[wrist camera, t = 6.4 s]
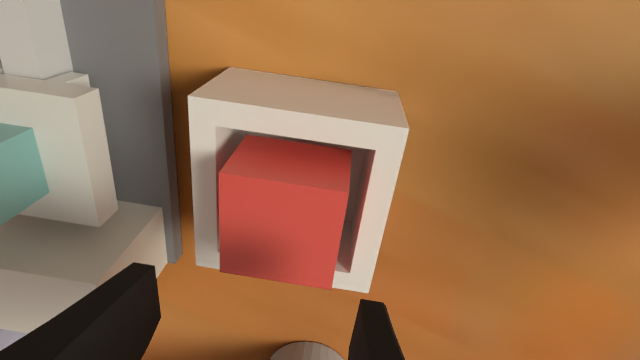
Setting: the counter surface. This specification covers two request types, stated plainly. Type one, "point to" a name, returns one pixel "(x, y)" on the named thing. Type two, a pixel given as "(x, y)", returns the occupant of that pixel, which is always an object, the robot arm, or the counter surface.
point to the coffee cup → (305, 352)
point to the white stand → (123, 143)
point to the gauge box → (305, 127)
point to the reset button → (283, 210)
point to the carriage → (54, 150)
